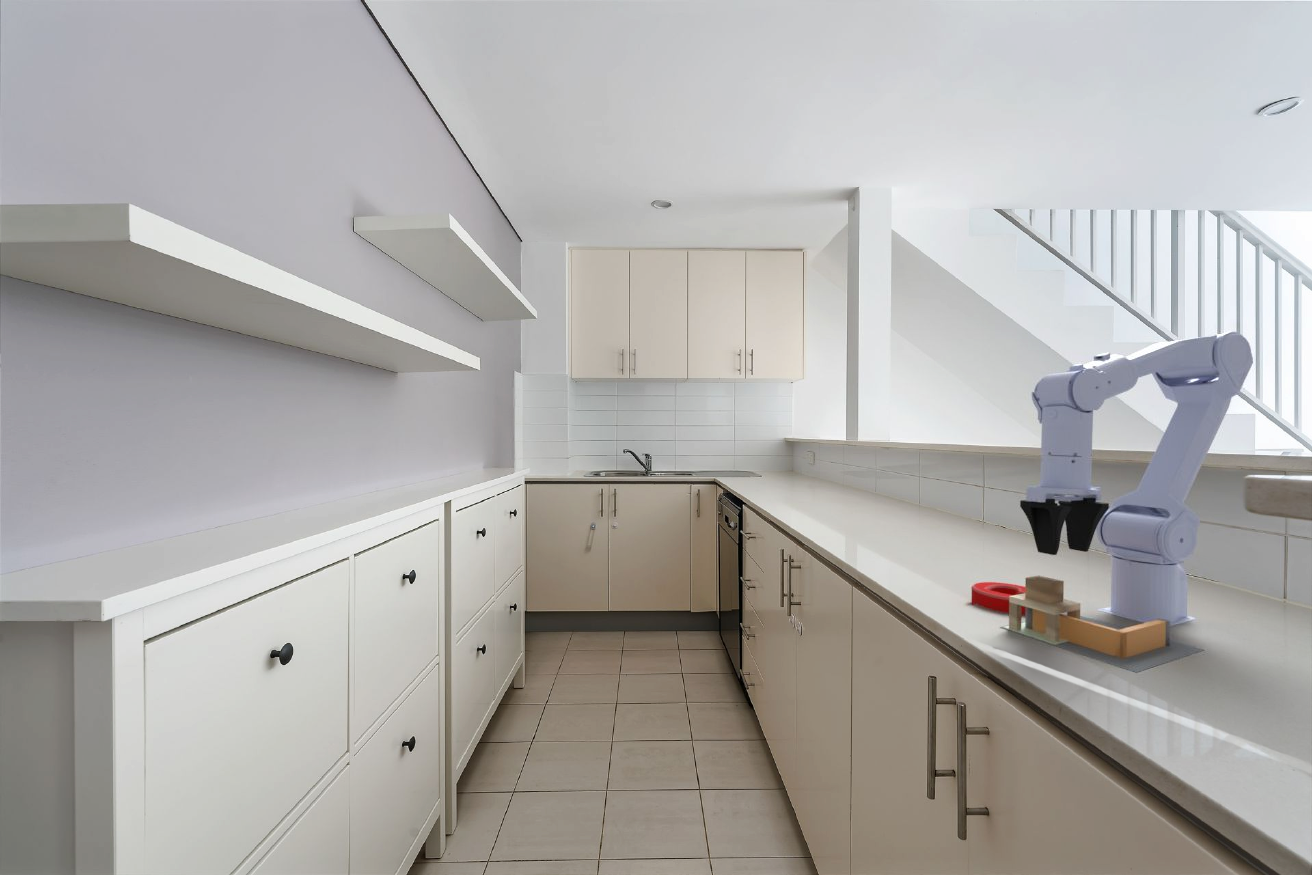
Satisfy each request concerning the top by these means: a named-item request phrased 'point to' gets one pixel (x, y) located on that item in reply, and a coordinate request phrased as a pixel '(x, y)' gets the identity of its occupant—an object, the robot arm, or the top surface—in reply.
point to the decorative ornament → (995, 595)
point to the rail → (1105, 634)
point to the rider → (1043, 604)
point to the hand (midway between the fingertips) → (1063, 551)
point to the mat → (1132, 662)
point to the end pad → (1035, 634)
